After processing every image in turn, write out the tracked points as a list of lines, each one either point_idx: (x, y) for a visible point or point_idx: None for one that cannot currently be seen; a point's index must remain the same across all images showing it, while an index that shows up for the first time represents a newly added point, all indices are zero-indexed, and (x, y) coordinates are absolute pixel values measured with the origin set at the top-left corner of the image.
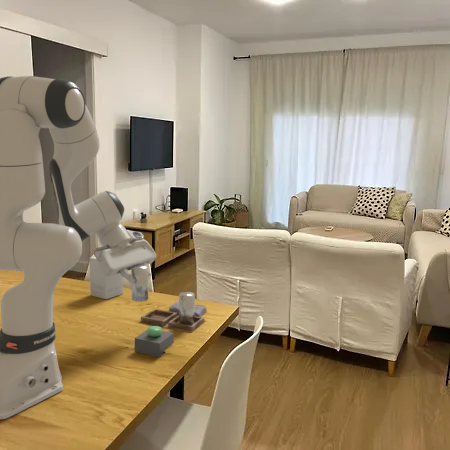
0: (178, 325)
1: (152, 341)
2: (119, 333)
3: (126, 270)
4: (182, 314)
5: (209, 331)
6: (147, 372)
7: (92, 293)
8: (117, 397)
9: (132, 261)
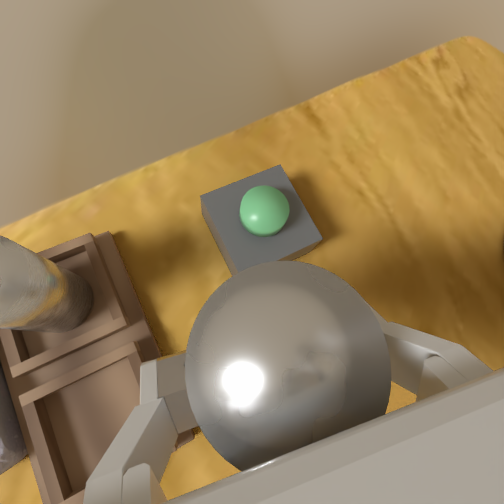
0: (111, 284)
1: (290, 186)
2: None
3: (451, 363)
4: (72, 282)
5: (36, 226)
6: (333, 146)
7: None
8: (422, 111)
9: (394, 465)
